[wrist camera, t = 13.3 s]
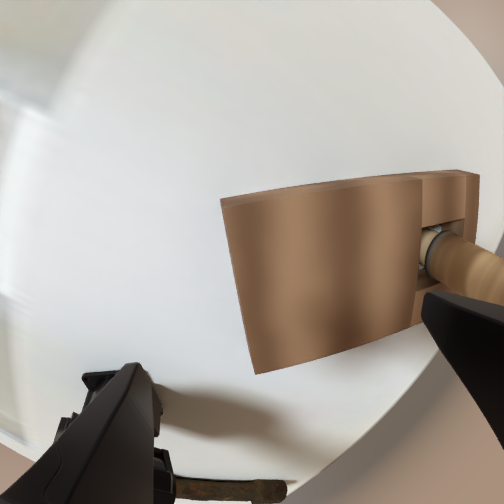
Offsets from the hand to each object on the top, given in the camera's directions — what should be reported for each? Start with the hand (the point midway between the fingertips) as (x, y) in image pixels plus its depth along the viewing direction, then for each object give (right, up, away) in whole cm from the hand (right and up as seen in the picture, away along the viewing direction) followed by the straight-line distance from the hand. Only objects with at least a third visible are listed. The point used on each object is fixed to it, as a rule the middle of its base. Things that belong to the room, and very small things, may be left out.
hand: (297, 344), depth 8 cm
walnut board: (+8, +2, +15) cm, 17 cm away
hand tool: (-5, -32, +26) cm, 41 cm away
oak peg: (+14, +3, +15) cm, 21 cm away
